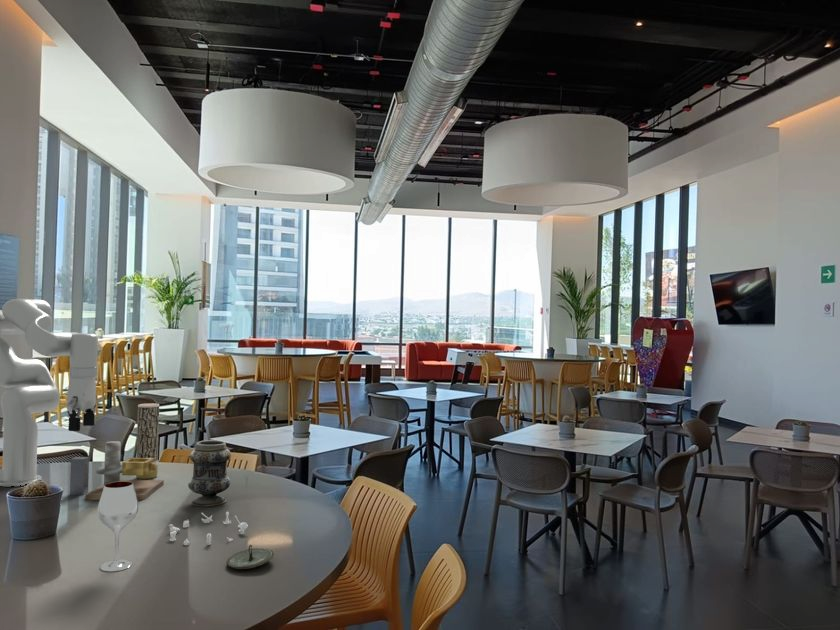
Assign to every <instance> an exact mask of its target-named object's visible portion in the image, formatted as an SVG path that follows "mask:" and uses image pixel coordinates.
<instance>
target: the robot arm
mask: <svg viewBox="0 0 840 630" xmlns="http://www.w3.org/2000/svg"><path fill="white" fill-rule="evenodd" d="M52 315H53V309H52V307H51V305H50V304H49V303H48V302H47V301H46V300H43V299H39V298H38V299H35V298H12V299H10V300H7V301H6V302H5V303H4V304H3V305H2V307H1V309H0V336H1V335H2V336H7V335H8V336H9V335H10V336H11V335H13V336H14V335H15V336H16V335H18V336H19V335H24V337H25V341H26V343H27V345H28V347H29V348H30V349H32V350H34V351H35V352H36V353H38V354H39V355H41V356H44V357H48V358H49V357H69V381H68V387H67V395H66V410H67V414H68V415H67V417H68V418H67V419H68V432H80V431H81V419H83V421H82V423H83V424H82V425H83V426H85V427H93V426H94V425H95V415H96V407H97V385H96V379H97V378H98V356H99V355H98V352H99V351H98V350H99V349H98V348H99V337H98V336H97V335H96V334H95V333H82V332H76V331H72V332H71V331H67V332H66V331H60V332H59V331H58V332H57V331H54V332H53V331H51V329H52V327H53V319H52ZM0 387H1V388H6V390H4V392H2V394H1V395H0V407H1V414H2V419H3V432H2V433H3V441H2V443H3V444H2V468H0V487H5V488H6V487H11V486H14V487H22V486H26V485H25V484H28V483H29V482H32V481H38V480H41V481H42V477H43V476H42V475H40V474H37V463H38V461H37V460H38V424H37V423H36V421H35V419H34V418H33V416H32V415H33V414H39V413H46V412H47V413H48V412H51V411H54V410H56V409H57V408H58V407H59V405H60V402H61V393H60V390H59V389H58V386H57V384H56V382H55V380H54V379H53V376H52V374H51V372H50V370H49V368H48V367H47V365H46V363H45V362H43V361H42V360H41V359H38V358H20V357H18V356H17V354H16V352H15V350H14V348H13V347H12V345H11V344H10V343H9V342H8V341H6V340H5V339H4V338H2V337H0ZM82 412H83V416H82V417H83V418H81V417H80V415H81V413H82ZM20 485H21V486H20ZM11 488H12V487H11Z"/></svg>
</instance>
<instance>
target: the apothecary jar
mask: <svg viewBox="0 0 840 630" xmlns="http://www.w3.org/2000/svg"><path fill="white" fill-rule="evenodd" d="M231 457H232V453H231V451H230V450H229V449H228V447H227V444H226V441H223V440H215V439H214V440H213V439H212V440H210V439H209V440H208V439H207V440H201V441H198V442H196V444H195V448H194V449H193V450H191V452H190V454H189V460H190V461H191V462H193V473H192V477H191V478H190V479H189V481H188V483H187V487H188V489H189V490H191V491H192V493H195V494H199V495H201V496H198V497H197V498H195V499H193V501H191V505H193V506H196V507H204V508H205V507H206V508H207V507H214V506H215V507H216V506H220V505H223V504H225V503H226V502H227V499H226V497H224V496H221V495H218V494H220V493H222V492H224V491H226V490H227V489H228V488H230V486H231V479H230V477H229V476H228V474H227V467H228V466H227V465H228V464H227V463H228V461H229V460H230V459H231Z"/></svg>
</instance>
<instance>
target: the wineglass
mask: <svg viewBox="0 0 840 630" xmlns="http://www.w3.org/2000/svg"><path fill="white" fill-rule="evenodd" d="M98 501H99V502H98V505H97V506H98V507H97V513H96V514H97V517H98V519H99V520H100V522H101V523H102V524H104V525H105V526H106V527H107V528H108V529H110V530H112V532H113V534H114V537H115V538H114V540H115V541H114V559H113V560H111V561H110V560H109V561H107V562H105V563H102V564H101V565H100V566H99V568H100V570H101V571H103V572H106V573H107V572H111V573H112V572H113V573H114V572H119V571H123V570H127V569H129V568H131V567H132V565H133V562H132V561H131V560H128V559H120V552H119V551H120V534H121V532H122V530H124V528H126V527H127V526H128V525H129V524H130V523H131V522H133V521H134V519H135V517H136V516H137V515H138V513H139V500H137V497H136V493H135V489H134V486H133V483H132V482H127V481H119V482H112V483H108V484H106V485H105V486H104V489H103V492H102V495H101V498H100V500H98Z"/></svg>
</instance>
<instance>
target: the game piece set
mask: <svg viewBox="0 0 840 630" xmlns="http://www.w3.org/2000/svg"><path fill="white" fill-rule="evenodd" d="M201 515H202V516H203V517H205V518H201V521H202V523H204V524H209V523H210V522H213V519H212V517H213V514H212V515H211V516H209V517H208V516H207V515H205V514H204V513H203V512H201ZM229 515H230V512H229V511H228V510H227V511H226V512H225V516H226V517H225V520H222V522H223V523H222V524H224V525H230V524H232V520H230V519H229ZM234 518H236V521H237V522H238V523H239V524H238V525H237V528H238V532H239V533H240V535H244V534H245V530H246V529H248V526H249V525H248V523H247V522H240V521H239V519H238V517H237V515H234ZM168 527H169V531H170V533H169V535H170V538H169V541H170V542H175V541H177V538H176V536H177V532H179V531H181V528H179V527H177V526H174V525H173V523H171V524H168ZM189 527H190V520H189V519H187V520H183V523H182V528H189ZM239 528H240V529H239ZM205 538H206V545H207V546H211V544H212V534H211V533H207V534H206V537H205ZM226 539H227V542H229V543H230V542H232V541H234V539H233V538H229V537H228V536H227V537H226ZM183 545H184V546H189V545H190V541H189V540H188V537H186V539H185V540H184V541H183Z"/></svg>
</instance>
